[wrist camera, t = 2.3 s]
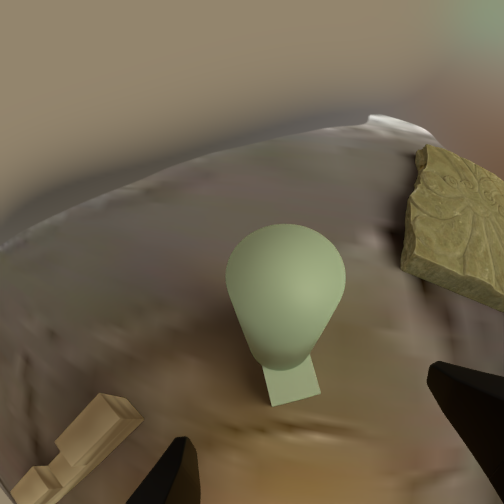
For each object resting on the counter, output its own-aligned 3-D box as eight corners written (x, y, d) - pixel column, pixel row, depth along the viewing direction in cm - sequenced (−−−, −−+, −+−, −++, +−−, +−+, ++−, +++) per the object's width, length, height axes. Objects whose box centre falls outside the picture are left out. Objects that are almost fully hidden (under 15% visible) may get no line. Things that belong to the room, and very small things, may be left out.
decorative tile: (506, 200, 27) (516, 183, 24) (522, 323, 18) (541, 310, 15) (405, 152, 33) (411, 132, 30) (391, 272, 23) (406, 250, 20)
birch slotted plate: (144, 419, 18) (119, 418, 14) (49, 508, 11) (23, 512, 7) (125, 398, 18) (99, 392, 15) (35, 490, 12) (10, 492, 8)
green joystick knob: (318, 394, 18) (383, 369, 7) (265, 408, 18) (252, 408, 7) (291, 299, 22) (304, 179, 11) (243, 311, 22) (210, 198, 11)
